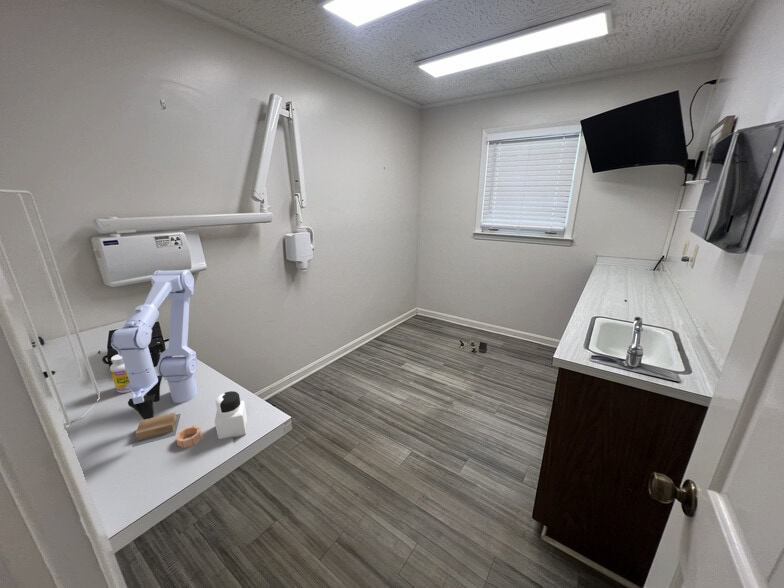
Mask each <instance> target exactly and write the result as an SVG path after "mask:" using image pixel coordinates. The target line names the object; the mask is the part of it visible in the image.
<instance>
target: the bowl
mask: <svg viewBox="0 0 784 588" xmlns="http://www.w3.org/2000/svg"><path fill="white" fill-rule="evenodd" d="M193 434H194V435H193ZM191 435H192V436H191ZM187 436H191V437H187ZM202 436H203V434H202V429H201V427H200V426H198V425H191V426H187V427H185V428H182V429H181V430H180V431H178V433H176V437H175V441H176V444H177V446H178V447H180V448H182V449H185V448H188V447H192V446H194V445H196V444H197V443H198V442H199V441H201V440H202ZM186 437H187V438H186Z"/></svg>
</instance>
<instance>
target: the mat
mask: <svg viewBox="0 0 784 588" xmlns="http://www.w3.org/2000/svg"><path fill="white" fill-rule="evenodd" d="M176 418H177V420H176V424H175V428H174V431H172V432H168V433H164V434H160V435H156V436H153V437H149V438H145V439H141V440H137V437H136V436H135V438H134V440H133V444H132V445H131V447H132V448H134V447H137V446H142V445H144V444H145V445H146V444H148V443H153V442H156V441H160V440H165V439H167V438H171V437H175V436H177V430H178V427H179V422H180V418H181V413H179V414H178V413H177V414H176Z"/></svg>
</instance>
